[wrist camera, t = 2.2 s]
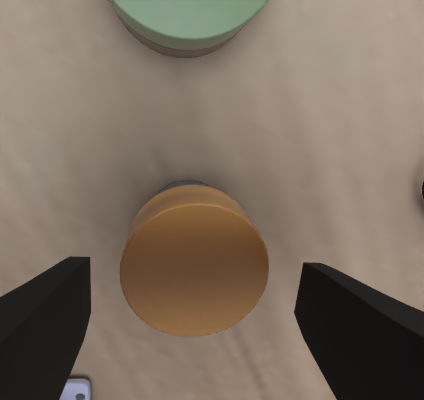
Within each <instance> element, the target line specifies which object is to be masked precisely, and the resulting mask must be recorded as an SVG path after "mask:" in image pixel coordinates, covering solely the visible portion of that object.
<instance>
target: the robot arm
mask: <svg viewBox="0 0 424 400" xmlns="http://www.w3.org/2000/svg"><path fill="white" fill-rule="evenodd" d="M90 314H91V282H90V257H68V258H66V259H64V260H63V261H61V262H59V263H58V264H56V265H54V266H53V267H51V268H50V269H48V270H46V271H45V272H43V273H42V274H40V275H38V276H37V277H35V278H33V279H32V280H30V281H28V282H27V283H25V284H23V285H21V286H20V287H18V288H16V289H14V290H12V291H11V292H9V293H7V294H5V295H3V296H1V297H0V400H91V391H90V382H89V381H88V380H86V379H68V378H69V375H70V373H71V370H72V368H73V366H74V363H75V361H76V358H77V356H78V353H79V351H80V348H81V346H82V343H83V341H84V337H85V333H86V330H87V326H88V322H89V318H90ZM294 314H295V317H296V320H297V322H298V325H299V328H300V330H301V333H302V336H303V338H304V340H305V342H306V344H307V346H308V348H309V350H310V352H311V353H312V355H313V357H314V359H315V361H316V363H317V364H318V366H319V368H320V370H321V372H322V374H323V375H324V377H325V379H326V381H327V383H328V384H329V386H330V388H331V390H332V392H333V394H334V395H335V397H336V399H337V400H424V312H423V311H421V310H418V309H416V308H414V307H411V306H409V305H407V304H404V303H402V302H400V301H398V300H396V299H394V298H392V297H389V296H387V295H385V294H383V293H381V292H379V291H377V290H375V289H373V288H371V287H369V286H367V285H365V284H363V283H361V282H359V281H358V280H356V279H354V278H352V277H350V276H348V275H346V274H344V273H342V272H340V271H338V270H336V269H334V268H332V267H329V266H327V265H324V264H322V263H303V268H302V274H301V279H300V284H299V290H298V295H297V300H296V306H295V311H294ZM79 394H83V395H79Z"/></svg>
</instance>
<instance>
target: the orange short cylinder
mask: <svg viewBox="0 0 424 400" xmlns="http://www.w3.org/2000/svg"><path fill="white" fill-rule="evenodd" d="M268 270H269V261H268V254H267V249H266V247H265V244H264V241H263V239H262V238H261V236H260V234H259V232H258V231H257V229H256V228H255V226H254V225H253V223H252V222H251V221H250V219H249V218H248V216H247V215H246V213H245V212H244V210H243V209H242V208H241V206H240V205H239V204H238V203H237V202H236V201H235V200H234V199H233V198H231V197H230V196H229V195H227V194H225V193H224V192H222V191H220V190H217V189H215V188H211V187H208V186H202V185H184V186H178V187H174V188H170V189H168V190H166V191H163V192H161V193H160V194H158V195H156V196H155V197H153V198H152V199H151V200H149V201H148V202H147V203H146V204H145V205H144V206H143V207H142V208H141V210H140V211H139V212H138V213H137V215H136V217H135V219H134V220H133V223H132V225H131V228H130V231H129V234H128V238H127V241H126V245H125V248H124V251H123V255H122V259H121V263H120V283H121V287H122V291H123V294H124V296H125V299H126V300H127V302H128V304H129V306H130V307H131V309H132V310H133V311H134V312H135V314H136V315H137V316H138V317H139V318H140V319H141V320H143V321H144V322H145V323H147V324H148V325H150V326H152V327H153V328H155V329H157V330H160V331H162V332H164V333H168V334H171V335H177V336H185V337H195V336H204V335H210V334H213V333H217V332H219V331H222V330H224V329H227V328H228V327H230V326H232V325H234V324H235V323H237V322H238V321H240V320H241V319H242V318H244V317H245V316H246V315H247V314H248V313H249V312H250V311H251V310H252V309H253V307H254V306H255V305H256V303H257V302H258V301H259V299H260V297H261V295H262V293H263V291H264V288H265V286H266V282H267V278H268Z"/></svg>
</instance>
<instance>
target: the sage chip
mask: <svg viewBox="0 0 424 400" xmlns="http://www.w3.org/2000/svg"><path fill="white" fill-rule="evenodd" d="M109 1H110V3H111V5H112V6H113V7H114V9H115V10H116V11H117V13H118V14H119V15H120V17H121V18H122V19H123V20H124V21H125V22H126V23H127V24H128V25H129V26H130V27H131V28H132V29H134V30H135V31H136V32H137V33H139V34H140V35H142V36H143V37H145V38H146V39H148V40H150V41H152V42H154V43H156V44H158V45H161V46H164V47H167V48H172V49H177V50H200V49H204V48H209V47H212V46H215V45H217V44H220V43H222V42H224V41H225V40H227V39H229V38H230V37H232V36H233V35H234V34H236V33H237V32H238V31H240V30H241V29H242V28H243V27H244V26H245V25H246V24H247V23H248V22H249V21H250V20H251V19H252V18H253V17H254V16H255V15H256V14H257V13H258V12H259V11H260V10H261V9H262V8H263V7H264V5H265V4H266V3H267V1H268V0H109Z"/></svg>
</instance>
